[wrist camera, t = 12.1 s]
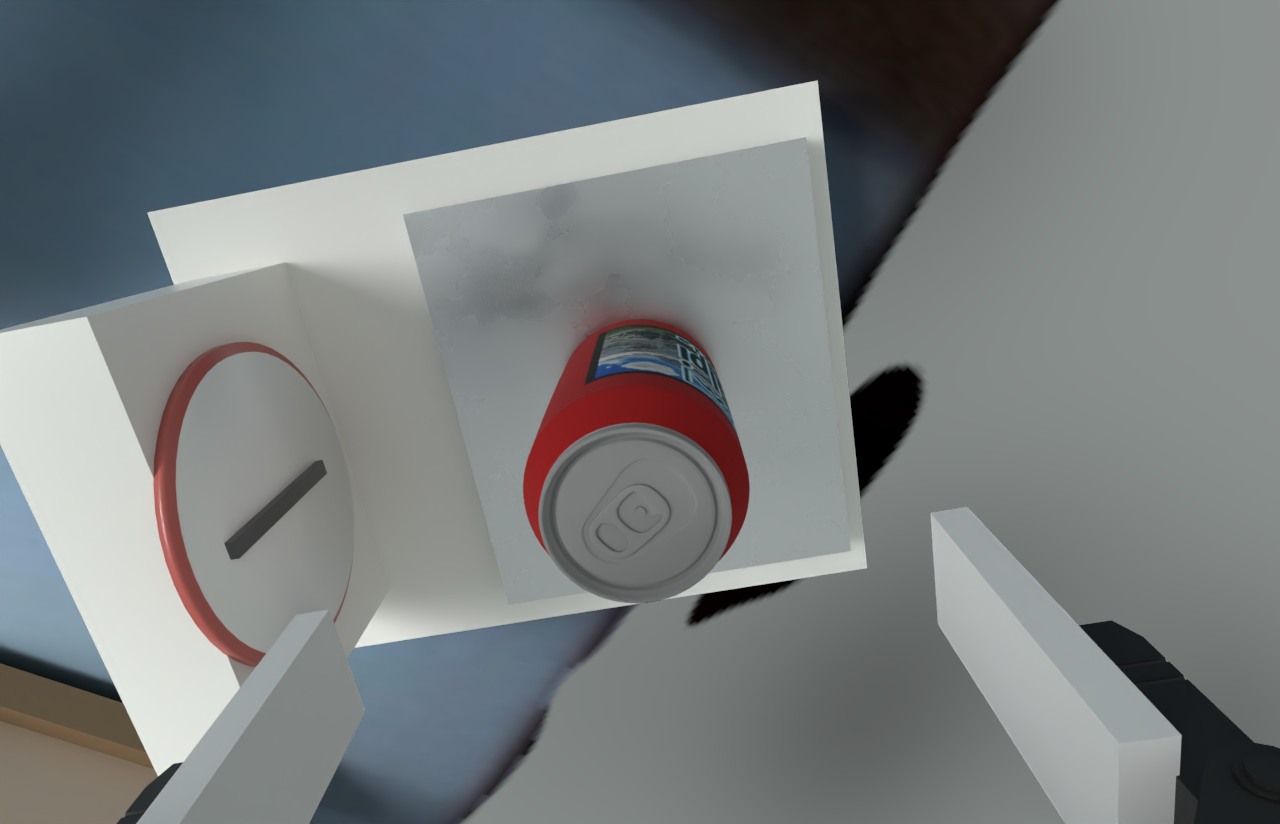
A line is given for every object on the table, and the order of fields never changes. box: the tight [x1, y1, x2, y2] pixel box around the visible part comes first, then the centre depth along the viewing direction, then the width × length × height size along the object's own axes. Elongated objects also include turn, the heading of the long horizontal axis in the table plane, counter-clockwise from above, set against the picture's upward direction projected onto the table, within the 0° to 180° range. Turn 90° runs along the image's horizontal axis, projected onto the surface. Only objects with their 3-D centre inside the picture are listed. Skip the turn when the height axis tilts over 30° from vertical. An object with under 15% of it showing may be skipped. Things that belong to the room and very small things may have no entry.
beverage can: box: [523, 319, 750, 603], centre depth 26 cm, size 7×7×12 cm
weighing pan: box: [403, 137, 851, 605], centre depth 33 cm, size 16×18×1 cm
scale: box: [0, 80, 867, 776], centre depth 30 cm, size 28×22×17 cm
